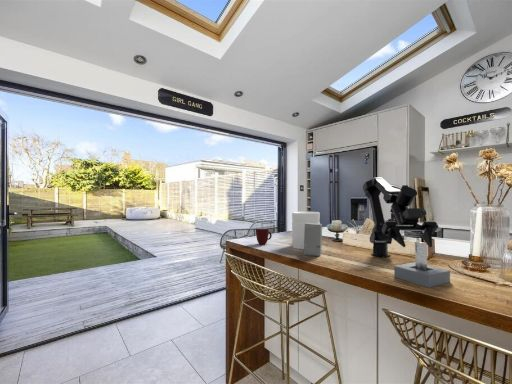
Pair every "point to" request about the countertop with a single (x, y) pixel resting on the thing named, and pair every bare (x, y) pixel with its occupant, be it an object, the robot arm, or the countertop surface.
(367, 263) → the countertop surface
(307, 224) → the skincare box
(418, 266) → the steel peg
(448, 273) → the hole block
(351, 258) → the countertop surface
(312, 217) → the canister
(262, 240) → the mug
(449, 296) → the countertop surface
